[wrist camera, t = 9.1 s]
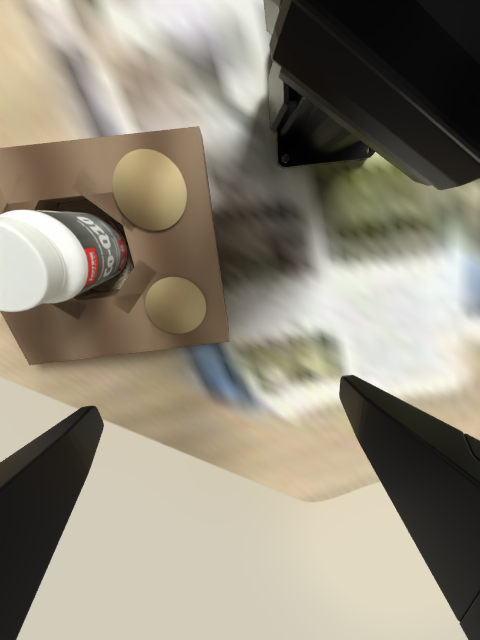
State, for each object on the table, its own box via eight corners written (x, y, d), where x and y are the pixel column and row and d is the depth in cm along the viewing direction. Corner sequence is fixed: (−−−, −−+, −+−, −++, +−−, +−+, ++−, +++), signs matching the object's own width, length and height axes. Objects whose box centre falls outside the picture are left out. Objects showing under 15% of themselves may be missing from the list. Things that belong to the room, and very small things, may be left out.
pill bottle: (139, 269, 18) (78, 306, 11) (82, 285, 19) (-17, 332, 11) (111, 204, 17) (13, 192, 9) (48, 222, 17) (-100, 226, 9)
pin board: (202, 137, 15) (198, 125, 13) (228, 330, 21) (228, 342, 19) (-47, 164, 15) (-88, 156, 13) (46, 352, 21) (27, 366, 19)
